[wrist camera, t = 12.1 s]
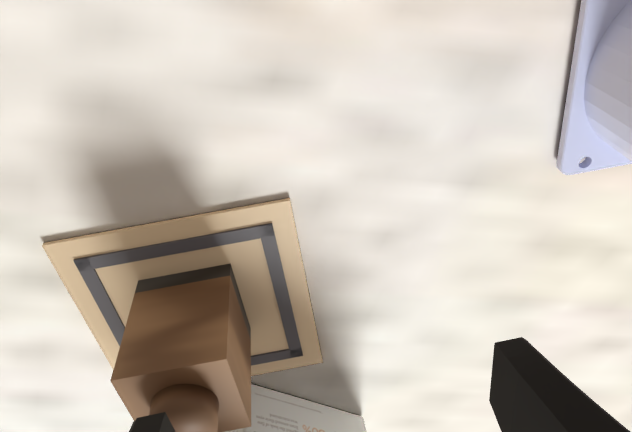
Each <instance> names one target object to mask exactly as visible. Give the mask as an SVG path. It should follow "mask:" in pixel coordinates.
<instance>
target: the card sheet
mask: <svg viewBox="0 0 632 432" xmlns="http://www.w3.org/2000/svg"><path fill="white" fill-rule="evenodd" d="M42 247H43V248H44V250H45V252H46V254H47V255H48V257H49V259H50V261H51V262H52V264H53V266H54V267H55V269H56V271H57V273H58V274H59V276H60V278H61V280H62V281H63V283H64V285H65V287H66V288H67V290H68V292H69V294H70V295H71V297H72V299H73V300H74V302H75V304H76V306H77V307H78V309H79V311H80V313H81V314H82V316H83V318H84V320H85V321H86V323H87V325H88V327H89V328H90V330H91V332H92V333H93V335H94V337H95V339H96V340H97V342H98V344H99V346H100V347H101V349H102V351H103V353H104V354H105V356H106V358H107V359H108V361H109V363H110V365H111V366H112V368H113V370H114V366H115V363H116V359H117V356H118V352H119V348H120V345H121V341H122V338H123V334H124V330H125V327H126V323H127V319H128V316H129V312H130V309H131V305H132V301H133V298H134V294H135V290H136V287H137V283H138V280H143V279H149V278H154V277H160V276H165V275H170V274H176V273H181V272H187V271H192V270H198V269H203V268H208V267H214V266H219V265H225V264H230V263H231V266H232V270H233V273H234V276H235V279H236V282H237V286H238V289H239V292H240V295H241V299H242V302H243V305H244V308H245V311H246V315H247V318H248V321H249V324H250V328H251V376H255V375H260V374H265V373H271V372H276V371H281V370H287V369H292V368H297V367H302V366H308V365H313V364H318V363H323V360H322V355H321V350H320V345H319V340H318V336H317V331H316V326H315V321H314V316H313V311H312V306H311V301H310V296H309V291H308V286H307V281H306V276H305V271H304V266H303V262H302V257H301V252H300V247H299V242H298V237H297V232H296V227H295V222H294V217H293V212H292V207H291V202H290V198H287V199H281V200H276V201H270V202H265V203H259V204H254V205H248V206H243V207H237V208H232V209H226V210H221V211H215V212H210V213H204V214H199V215H194V216H188V217H183V218H177V219H172V220H166V221H161V222H155V223H150V224H144V225H139V226H133V227H128V228H122V229H117V230H111V231H106V232H100V233H95V234H90V235H84V236H79V237H73V238H68V239H62V240H57V241H51V242H46V243H43V245H42Z"/></svg>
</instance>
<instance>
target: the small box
mask: <svg viewBox="0 0 632 432" xmlns="http://www.w3.org/2000/svg"><path fill="white" fill-rule="evenodd" d="M225 432H366V428H365V424H364V419H363V417H361V416H359V415H355V414H352V413H348V412H345V411H342V410H338V409H335V408H332V407H328V406H325V405H321V404H318V403H315V402H311V401H308V400H305V399H301V398H298V397H294V396H291V395H288V394H284V393H281V392H277V391H274V390H271V389H267V388H264V387H260V386H257V385H253V384H251V427H246V428H241V429H236V430H231V431H225Z"/></svg>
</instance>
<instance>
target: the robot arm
mask: <svg viewBox="0 0 632 432" xmlns="http://www.w3.org/2000/svg"><path fill="white" fill-rule="evenodd" d="M584 157H586V158H585V160H584V161H583V162H582V163H580V164H579V162H580V160H581V159H583V158H584ZM627 164H632V0H581V6H580V13H579V19H578V26H577V33H576V39H575V46H574V52H573V59H572V65H571V72H570V78H569V85H568V92H567V98H566V105H565V111H564V118H563V124H562V131H561V138H560V144H559V151H558V157H557V168H558V169H559V170H560V171H561V172H562V173H563V174H565V175H573V174H578V173H584V172H589V171H595V170H600V169H605V168H611V167H616V166H622V165H627ZM489 401H490V404H491V406H492V409H493V411H494V414H495V416H496V419H497V421H498V424H499V426H500V429H501V431H502V432H630V431H629V430H628V429H626V428H625V427H624V426H623V425H621V424H620V423H619V422H618V421H617V420H615V419H614V418H613V417H612V416H611V415H610V414H608V413H607V412H606V411H605V410H604V409H602V408H601V407H600V406H599V405H598V404H596V403H595V402H594V401H593V400H592V399H591V398H589V397H588V396H587V395H586V394H585V393H584V392H583V391H581V390H580V389H579V388H578V387H577V386H576V385H575V384H574V383H572V382H571V381H570V380H569V379H568V378H567V377H566V376H565V375H563V374H562V373H561V372H560V371H559V370H558V369H557V368H556V367H555V366H554V365H552V364H551V363H550V362H549V361H548V360H547V359H546V358H545V357H544V356H543V355H542V354H541V353H540V352H538V351H537V350H536V349H535V348H534V347H533V346H532V345H531V344H530V343H529V342H528V341H527V340H525V339H524V338H522V337H521V338H516V339H511V340H506V341H502V342H497V343H495V345H494V356H493V367H492V378H491V389H490V400H489ZM129 432H175V430H174V428H173V426H172V424H171V422H170V420H169V418H168V416H167V414H166V412H163V413H158V414H153V415H148V416H144V417H139V418H136V420H135V421H134V422H133V424H132V426H131V429H130V431H129Z"/></svg>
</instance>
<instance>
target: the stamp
mask: <svg viewBox="0 0 632 432" xmlns="http://www.w3.org/2000/svg"><path fill="white" fill-rule="evenodd" d="M111 382H112V384H113V386H114V388H115V389H116V391H117V393H118V394H119V396H120V398H121V399H122V401H123V403H124V404H125V406H126V408H127V409H128V411H129V413H130V415H131V416H132V418H133V420H134V421H135V420H136V418H139V417H144V416H148V415H153V414H158V413H163V412H166V414H167V416H168V418H169V420H170V422H171V424H172V426H173V428H174V430H175V432H225V431H231V430H236V429H241V428H246V427H251V328H250V324H249V321H248V318H247V315H246V311H245V308H244V305H243V302H242V299H241V295H240V292H239V289H238V286H237V282H236V279H235V276H234V273H233V270H232V266H231V263H230V264H225V265H219V266H214V267H208V268H203V269H198V270H192V271H187V272H181V273H176V274H170V275H165V276H160V277H154V278H149V279H143V280H138V283H137V287H136V290H135V294H134V298H133V301H132V305H131V309H130V312H129V316H128V319H127V323H126V327H125V330H124V334H123V338H122V341H121V345H120V348H119V352H118V356H117V359H116V363H115V366H114V370H113V374H112V377H111Z"/></svg>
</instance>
